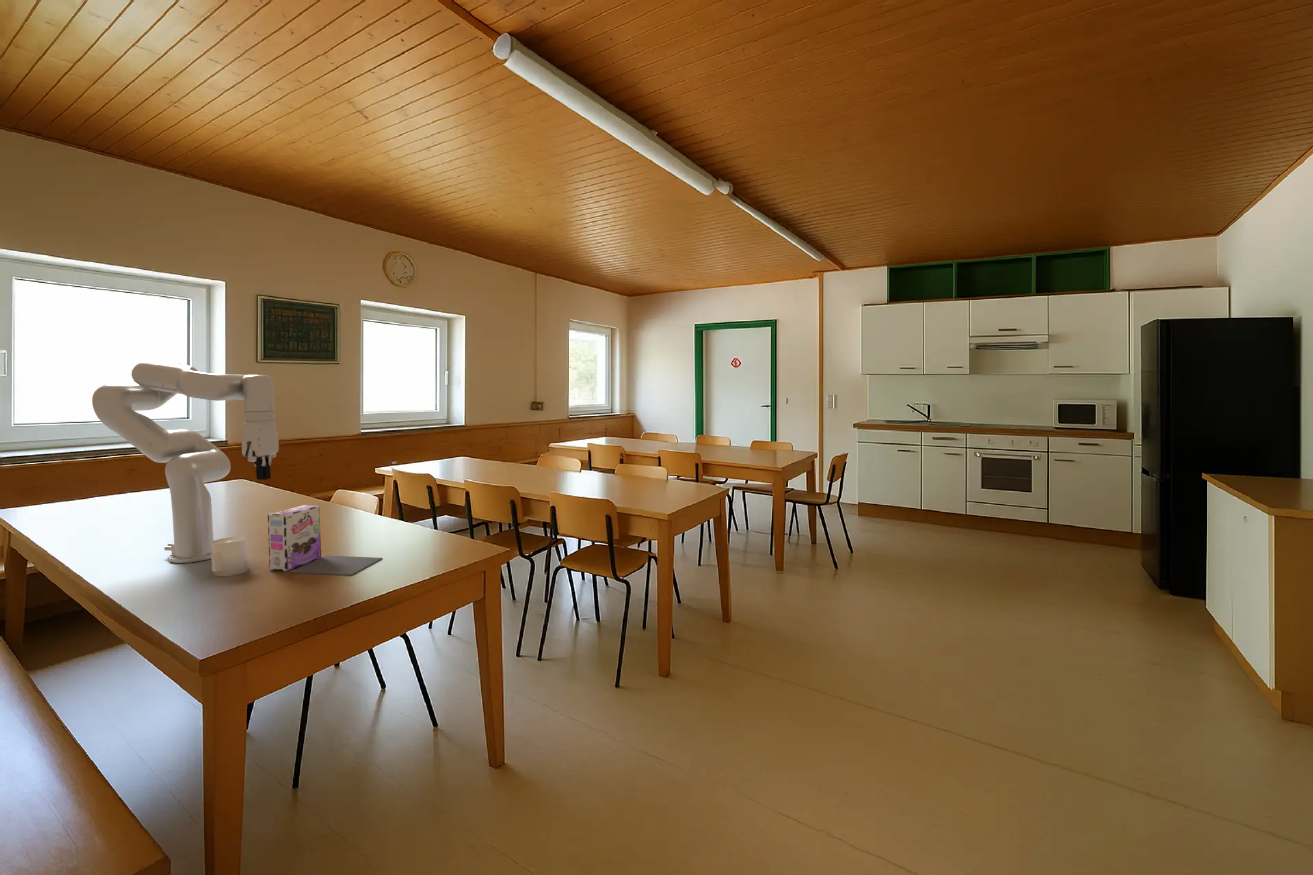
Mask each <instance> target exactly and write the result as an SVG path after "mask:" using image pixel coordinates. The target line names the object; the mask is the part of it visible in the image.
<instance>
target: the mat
mask: <svg viewBox="0 0 1313 875" xmlns="http://www.w3.org/2000/svg"><path fill="white" fill-rule="evenodd" d="M382 560H383V557H369V556H368V557H367V556H349V555H347V556H346V555H344V556H343V555H324V556H321V558H320V559H318V560H315V561H312V562H310V563H307V564H305V565H302V566H299V567H297V568H294V569H292V570H290V574H302V575H304V574H305V575H326V576H345V577H346V576H348V577H349V576H350V577H352V576H354V575H356V574H357V573H360V572H362V571H363V570H365V569H367V568H369V567H371V566H372V565H374V564H377V563H378V562H380V561H382Z"/></svg>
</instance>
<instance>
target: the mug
mask: <svg viewBox="0 0 1313 875" xmlns="http://www.w3.org/2000/svg"><path fill="white" fill-rule="evenodd" d="M212 548H213V553H211V559H210V560H211V572H213V575H214V576H216V577H231V576H237V575H240V574H245V573H247V572H248V571H249V555H248V554H249V552H248V538H247V537H246V536H245V537H244V536H230V537H224V538H219V539H216V540H214V541H213V542H212Z"/></svg>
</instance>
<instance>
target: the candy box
mask: <svg viewBox="0 0 1313 875" xmlns="http://www.w3.org/2000/svg"><path fill="white" fill-rule="evenodd" d="M320 517H321V516H320V505H311V504H310V505H309V504H308V505H306V504H302V505H300V506H299V505H298V506H295V507H292V508H289V509H288V508H287V509H284V510H280V511H276V512H271V513H267V532H268V534H267V536H268V559H269V560H268V561H269V564H268V565H269V566H268V567H269V570H271V571H281V572H288V571H292V570H295V569H298V568H300V567H302V566H304V565H306V564H309V563H311V562H313V561H315V560H318V559H320V558H322V544H321V542H322V541H321V520H320V519H321V518H320Z"/></svg>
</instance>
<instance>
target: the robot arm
mask: <svg viewBox="0 0 1313 875" xmlns="http://www.w3.org/2000/svg"><path fill="white" fill-rule="evenodd" d="M131 378H132V380H133V381H134V382H113V383H108V384H105V385H102V386H99V387H98V388H97V389H96V390H94V391H93V394H92V398H91V402H92V409H93V411H94V413H95V415H96V417H97V418H98V419H99V421H100V422H101V423H102V424H103V425H104V426H105V427H107V428H108V429H110V430H111V431H113V433H115V434H117V435H119V436H120V437H122V438H123V439H124V440H126V441H127V442H128V443H129V444H130V445H132V446H133V447H134V448H135V449H137V450H138V451H139V452H140V453H141V454H143V455H144V456H146V457H147V458H148V459H149V460H151V461H153V462H155V463H158V464H159V463H160V464H161V463H162V464H163V463H165V467H164V474H165V477H166V482H167V485H168V487H169V488H168V489H169V492H170V493H169V494H170V502H171V513H172V515H171V516H172V528H173V529H172V530H173V531H172V532H173V542H168V543H167V544H166V545H165V546H164V548H163V549H164V551H169V552H170V551H171V554H170V555H169V556H168V561H169V562H170V563H174V564H185V563H186V564H187V563H189V564H190V563H195V562H204V561H207V560H211V553H213V548H212V542H213V541H215V540H214V526H213V524H214V523H213V522H214V521H213V509H212V505H213V504H212V497H211V493H210V491H209V490H208V488H207V487H206V485H205V484H206V483H209V482H215V481H219V480H221V479H223V478H225V477H227V475H229V473H230V472H231V468H232V467H231V461H230V459H229V458H228V456H227V455H226V454H225V453H224V452H223V451H222V450H221V449H220V448H218V447H217V446H216V445H214V444H213V443H212V442H210V441H209V440H208V439H207V438H206V437H204V436H203V435H202V434H200V433H199V432H197V431H195V430H191V429H187V428H185V429H182V428H180V429H167V428H166V429H165V428H164V427H162V426H161V425H159V424H158V423H156V422H155V421H154V420H153V419H151V418H149V417H148V416H146V415H144V414H141V413H139V412H140V411H153V410H155V409H158V408H160V407H162V406H163V405H165V404H166V403H167V402H168V401H170V400H171V399H172V398H174V397H175V396H176V395H178V394H179V395H180V394H181V395H184V396H186V397H188V398H193V399H200V400H207V401H215V402H217V401H242V400H243V414H244V422H243V425H242V431H241V433H242V434H241V454H242V456H243V457H247V462H252V463H253V465H254V467H255V471H256V473H255V474H256V480H259V481H263V480H264V481H267V480H271V478H272V476H271V474H272V472H271V465H272V460H273V459H274V458H276V457H277V453H278V452H279V451H280V450H279V449H280V446H279V445H280V443H279V442H280V441H279V434H278V429H277V424H276V411H275V410H276V409H275V395H274V393H275V392H274V391H275V390H274V380H273V377H272V376H270V375H267V374H234V373H233V374H231V373H230V374H228V373H220V374H219V373H210V372H209V373H207V372H201V371H198V369H197V368H195V367H194V366H192V365H185V364H182V363H180V362H177V361H169V360H168V361H167V360H146V361H141V362H139V363H137V364H136V365H135V366H134V367H133V369H131ZM138 411H139V412H138Z"/></svg>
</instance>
